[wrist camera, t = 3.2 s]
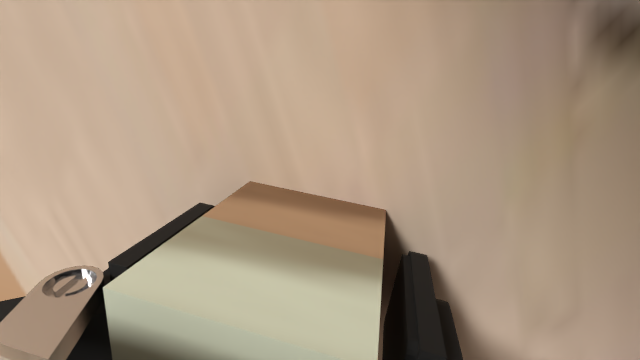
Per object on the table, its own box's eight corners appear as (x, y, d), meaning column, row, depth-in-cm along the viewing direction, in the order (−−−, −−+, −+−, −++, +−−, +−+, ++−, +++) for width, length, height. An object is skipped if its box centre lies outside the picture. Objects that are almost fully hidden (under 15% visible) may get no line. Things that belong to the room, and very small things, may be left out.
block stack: (250, 181, 11) (102, 287, 5) (385, 209, 10) (377, 369, 5) (244, 290, 13) (125, 458, 7) (360, 322, 12) (330, 540, 6)
